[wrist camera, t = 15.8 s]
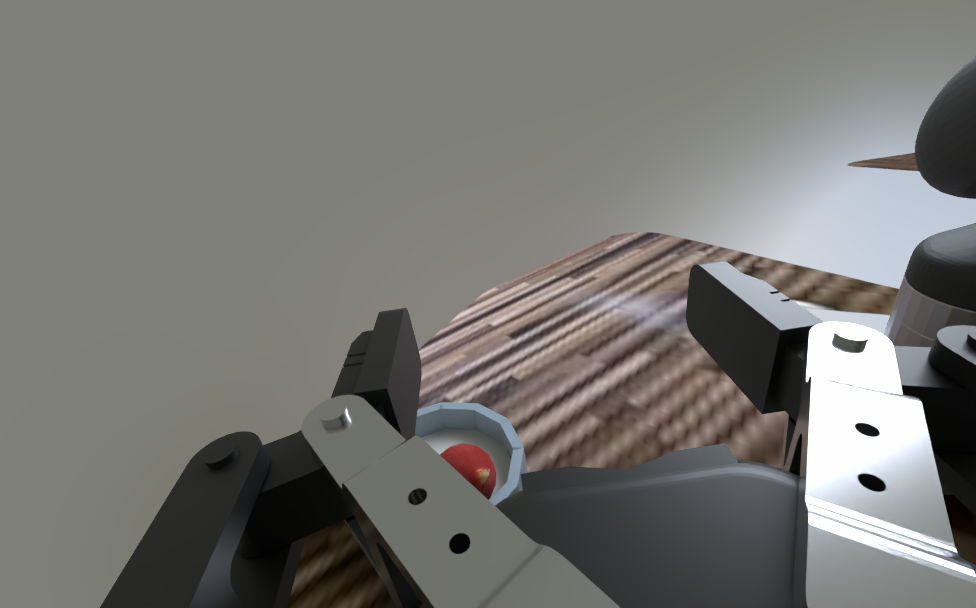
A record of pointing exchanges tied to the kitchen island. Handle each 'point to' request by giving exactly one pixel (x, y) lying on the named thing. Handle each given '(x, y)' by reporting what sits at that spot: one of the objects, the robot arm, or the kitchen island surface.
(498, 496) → the faceted shallow dish
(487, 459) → the onion
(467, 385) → the kitchen island surface
